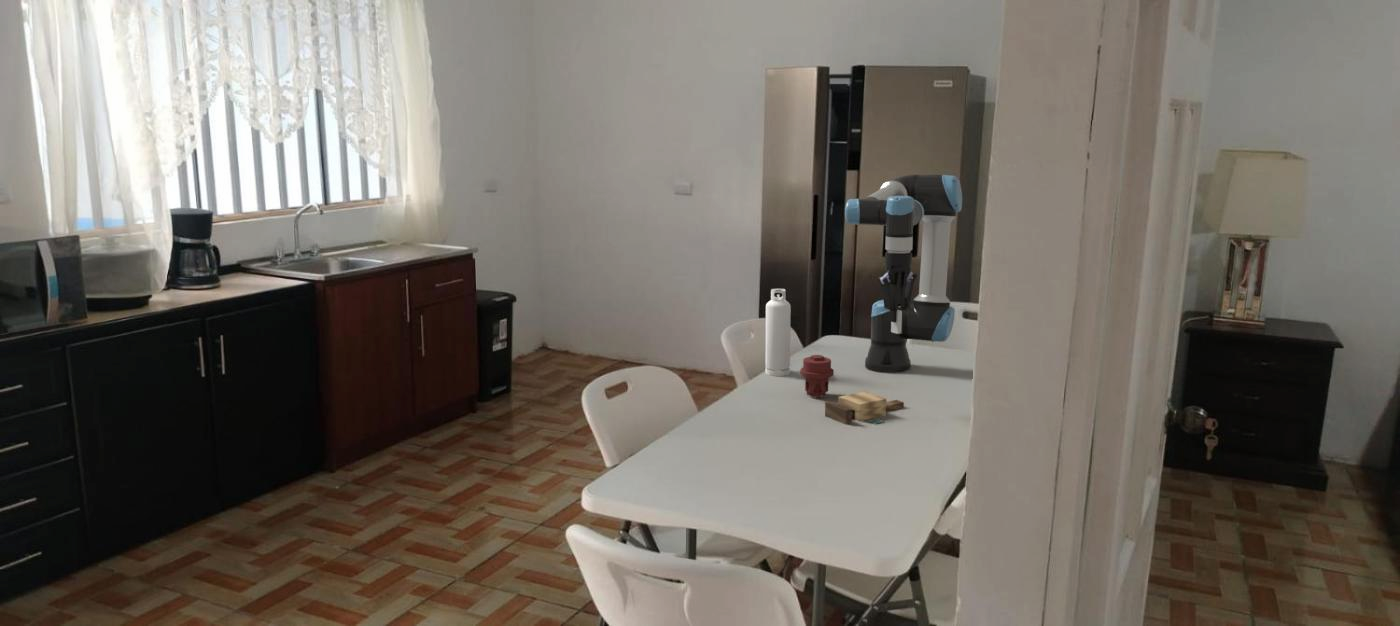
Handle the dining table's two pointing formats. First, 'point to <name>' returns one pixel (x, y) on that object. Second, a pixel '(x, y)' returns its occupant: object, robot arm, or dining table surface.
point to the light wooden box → (864, 405)
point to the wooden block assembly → (847, 414)
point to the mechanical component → (816, 375)
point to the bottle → (778, 335)
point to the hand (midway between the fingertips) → (896, 332)
